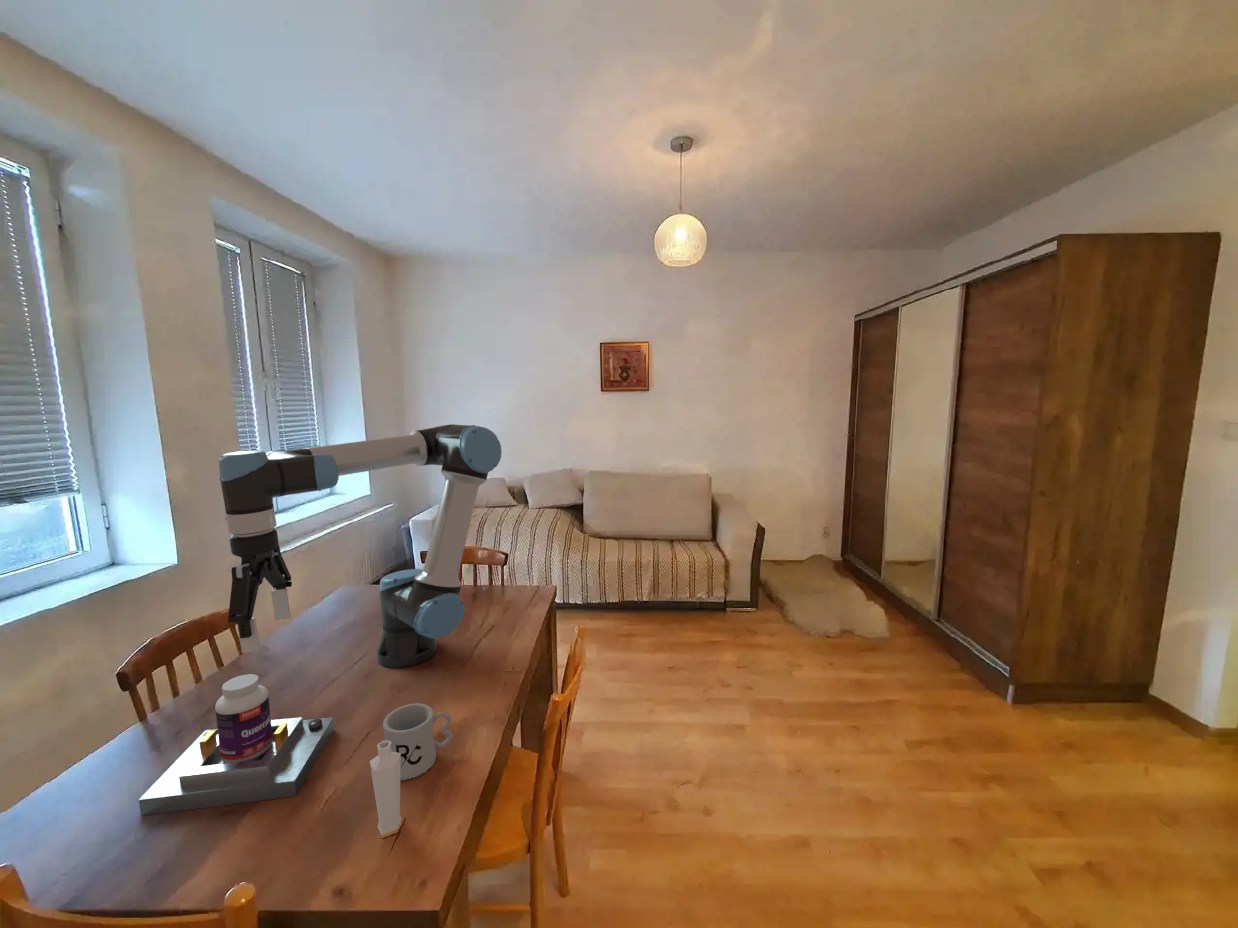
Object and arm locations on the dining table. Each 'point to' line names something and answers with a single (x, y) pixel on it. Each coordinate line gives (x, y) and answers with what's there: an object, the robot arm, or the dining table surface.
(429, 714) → the mug
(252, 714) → the pill bottle
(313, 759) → the grey clamping fixture
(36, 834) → the dining table surface
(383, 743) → the perfume bottle
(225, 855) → the dining table surface
